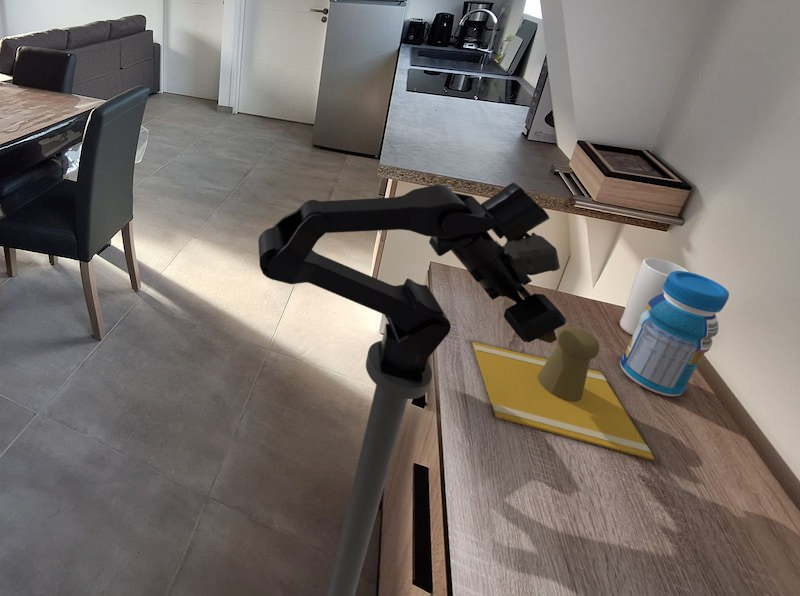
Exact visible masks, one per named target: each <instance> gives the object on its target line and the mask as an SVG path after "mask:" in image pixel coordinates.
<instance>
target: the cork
mask: <svg viewBox="0 0 800 596" xmlns="http://www.w3.org/2000/svg"><path fill="white" fill-rule="evenodd" d="M556 338H557V340H556V341H557V345H556V347H555V349H554V350H553V352H552V353H551V355H550V356H549V357H548V361H547V362H546V364H545V365H544V367H543V368H542V369H541V371H540V372H539V374H538V380H539V382H540V384H541V385H542V386H543V387H544V388H545V389H546V390H547V391H548V392H550V393H551V394H552V395H554V396H556V397H558V398H560V399H563V400H565V401H571V402H577V401H579V400H581V398H582V395H583V390H584V386H585V381H586V376H587V372H588V369H589V366H590V362H591V360H593V359H595V358H596V357H597V356H598V354H599V352H600V344H599V341H598V340H597V339H596V337H595V336H594V335H592V334H591V333H590V332H588V331H586V330H584V329H582V328H580V327H575V326H565V327H562V328H561V329H559V331H558V332H557V335H556Z"/></svg>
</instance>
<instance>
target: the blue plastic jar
mask: <svg viewBox="0 0 800 596" xmlns="http://www.w3.org/2000/svg"><path fill="white" fill-rule="evenodd" d="M663 292H664V293H662V294H660V295H658V296H656V297H654V298H652V299H651V300H650V301H649V302H648V304H647V309H648V310H646V311H644V312H643V313H642V314H641V316H640V318H639V324H638V326H637V328H636V331H635V333H634V335H633V336H632V337H631V339H630V341H629V344H628V345H627V348H626V350H625V352H624V353H623V354H622V356H621V358H620V360H619V365H620V367H621V369H622V371H623V372H624V374H625V375H626V376H627V377H628V378H630V379H631V380H632V381H633V382H635V383H636V384H638V385H639V386H641V387H642V388H644V389H646V390H648V391H650V392H653V393H656V394H658V395H661V396H666V397H678V396H681V395H682V394H684V392H685V390H686V389H687V386H688V383H689V381H690V379H691V377H692V376H693V374H694V372H695V371H696V369H697V367H698V365H699V364H700V362H701V360H702V358H703V357H704V355H705V353H707V352H709V351H710V350H711V348H712V345H713V338H714V337H716V335H718V333H719V321H718V318H717V315H716V314H718V313H720V312H722V310H723V309H724V307H725V306H726V304H727V302H728V300H729V298H730V292H729V290H728V289H727V288H725V287H724V286H723V285H721V284H720V283H718V282H716V281H715V280H713V279H710V278H708V277H706V276H703V275H700V274H697V273H694V272H690V271H689V272H685V271H673V272H671V273H670V274H669V275H668V277H667V279H666V281H665V283H664V286H663Z"/></svg>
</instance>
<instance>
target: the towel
mask: <svg viewBox="0 0 800 596" xmlns="http://www.w3.org/2000/svg"><path fill="white" fill-rule="evenodd" d="M471 344H472V348H473V350H474V353H475V357H476V360H477V363H478V367H479V369H480V373H481V375H482V379H483V382H484V385H485V388H486V391H487V394H488V397H489V401H490V404H491V408H492V410H493V413H494V417H495V418H498V419H501V420H505V421H507V422H512V423H515V424H519V425H523V426H526V427H530V428H533V429H537V430H541V431H544V432H548V433H552V434H556V435H559V436H563V437H567V438H570V439H572V440H577V441H581V442H585V443H589V444H591V445H592V444H593V445H595V446H600V447H603V448H606V449H610V450H614V451H618V452H620V453H621V452H622V453H624V454H627V455H628V454H629V455H632V456H635V457H640V458H643V459H646V460H650V461H655V457H654V456H653V454H652V451H651V449H650V448H649V446H648V445H647V444H646V442H645V441H644V439H643V437H642V436H641V434H640V433H639V431H638V430H637V428H636V426H635V425H634V423H633V421H632V420H631V418H630V416H629V415H628V414H627V412H626V410H625V408H624V407H623V405H622V404H621V402H620V400H619V399H618V397H617V396H616V394H615V393H614V391H613V390H612V387H611V386H610V384H609V382H608V380H607V378H606V377H605V375H603V373H602V372H601V371H598V370H594V369H589V368H588V372H587V376H586V381H585V386H584V390H583V395H582V398H581V400H579V401H577V402H571V401H565V400H563V399H560V398H558V397H556V396H554V395H552V394H551V393H550V392H548V391H547V390H546V389H545V388H544V387H543V386H542V385H541V384H540V382H539V380H538V374H539V372H540V371H541V369H542V368H543V367H544V365H545V364H546V362H547V361H548V359H549V358H548V359H547V358H544V357H539V356H534V355H531V354H526V353H523V352H517V351H513V350H509V349H505V348H502V347H501V348H500V347H496V346H492V345H489V344H484V343H480V342H475V341H472V343H471Z"/></svg>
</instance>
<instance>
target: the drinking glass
mask: <svg viewBox="0 0 800 596" xmlns="http://www.w3.org/2000/svg"><path fill="white" fill-rule="evenodd" d="M673 271H685V272H690V271H689V270H687V269H686V268H684V267H682V266H680V265H678V264H676V263H675V262H672V261H668V260H666V259H661V258H657V257H646V258H644V259H643V260H642V262H641V263H640V265H639V267H638V269H637V271H636V274H635V276H634V279H633V282H632V285H631V288H630V290H629V291H630V292H629V295H628V298H627V301H626V304H625V307H624V310H623V314H622V316H621V318H620V320H619V326H620V327H621V329H622V330H623V331H625V332H626V334H629V335H631V336H632V337H633V335H634V333H635V331H636V328H637V326H638V324H639V318H640V316H641V314H642V313H643V312H644V311H646V310H648V309H647V304H648V302H649V301H650V300H651V299H652V298H654V297H656V296H658V295H660V294H662V293H664V292H663V286H664V283H665V281H666V279H667V277H668V275H669V274H670V273H671V272H673Z"/></svg>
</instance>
